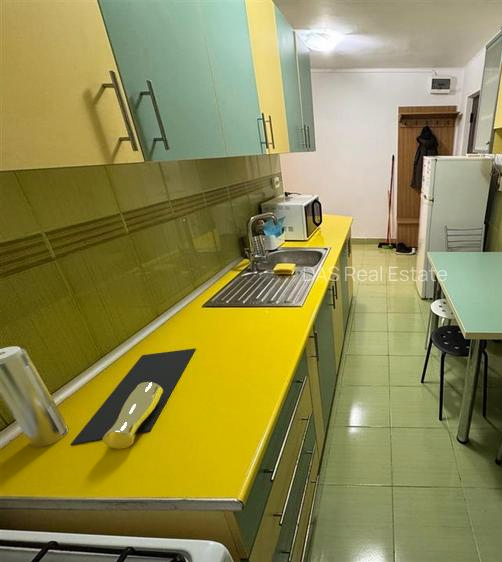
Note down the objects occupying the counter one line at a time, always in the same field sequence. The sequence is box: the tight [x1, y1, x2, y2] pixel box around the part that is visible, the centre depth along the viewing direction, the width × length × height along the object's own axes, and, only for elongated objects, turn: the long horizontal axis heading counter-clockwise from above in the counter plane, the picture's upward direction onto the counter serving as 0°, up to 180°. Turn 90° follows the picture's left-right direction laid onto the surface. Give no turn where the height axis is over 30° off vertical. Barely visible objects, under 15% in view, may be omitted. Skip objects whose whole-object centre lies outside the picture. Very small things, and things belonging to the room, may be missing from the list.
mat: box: [70, 347, 197, 446], centre depth 90 cm, size 17×36×1 cm, turn 13°
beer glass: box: [102, 382, 163, 450], centre depth 77 cm, size 7×7×15 cm
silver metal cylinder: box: [0, 346, 70, 449], centre depth 70 cm, size 6×6×25 cm
